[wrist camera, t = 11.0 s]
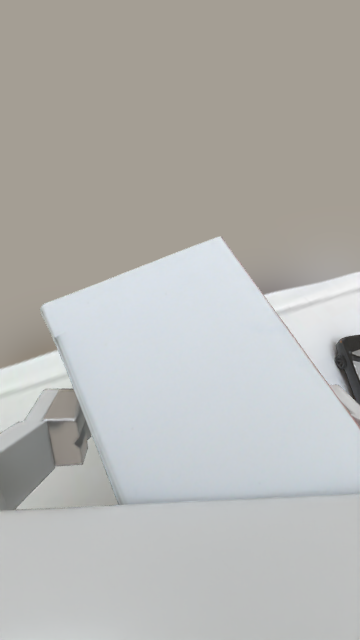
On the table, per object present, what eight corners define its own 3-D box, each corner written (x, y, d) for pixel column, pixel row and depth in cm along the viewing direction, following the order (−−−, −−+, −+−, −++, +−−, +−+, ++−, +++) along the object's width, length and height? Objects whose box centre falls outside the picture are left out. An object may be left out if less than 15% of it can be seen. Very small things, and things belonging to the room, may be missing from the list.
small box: (258, 464, 15) (428, 509, 6) (167, 523, 14) (188, 717, 4) (188, 341, 18) (224, 226, 8) (106, 381, 16) (32, 300, 7)
